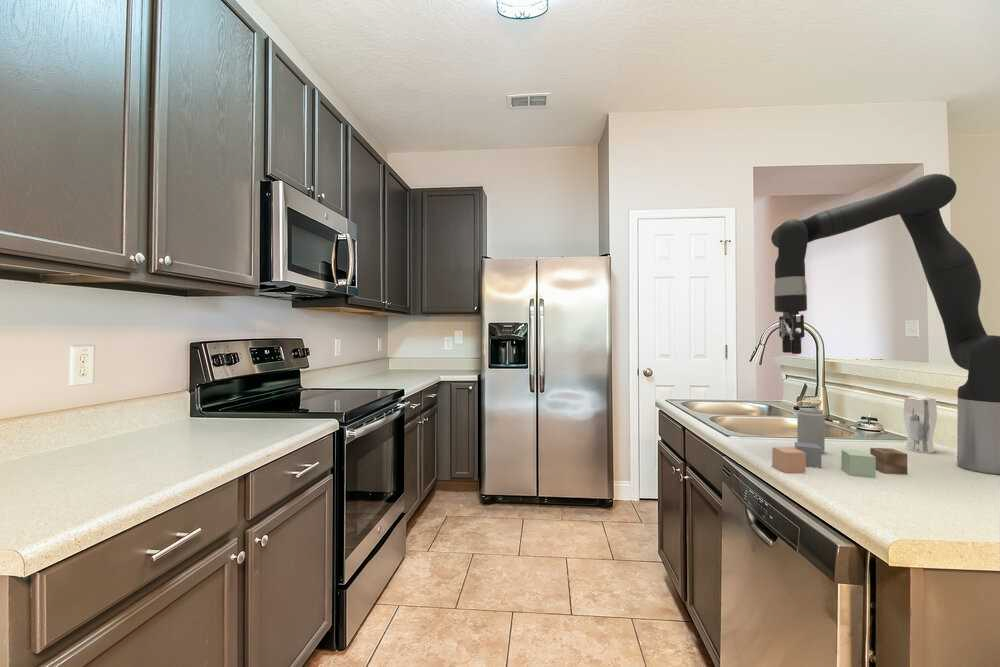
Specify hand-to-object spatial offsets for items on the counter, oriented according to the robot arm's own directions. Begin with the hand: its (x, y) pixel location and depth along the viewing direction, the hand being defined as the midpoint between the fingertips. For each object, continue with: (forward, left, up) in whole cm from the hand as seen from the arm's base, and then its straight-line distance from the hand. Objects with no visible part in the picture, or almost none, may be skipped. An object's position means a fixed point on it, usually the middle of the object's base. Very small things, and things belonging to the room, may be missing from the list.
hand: (791, 353), depth 124 cm
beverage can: (-7, -7, -28) cm, 30 cm away
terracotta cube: (+4, +15, -28) cm, 32 cm away
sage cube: (-11, +13, -28) cm, 33 cm away
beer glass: (-37, -18, -28) cm, 50 cm away
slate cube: (-2, +8, -28) cm, 29 cm away
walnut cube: (-19, +8, -28) cm, 35 cm away
